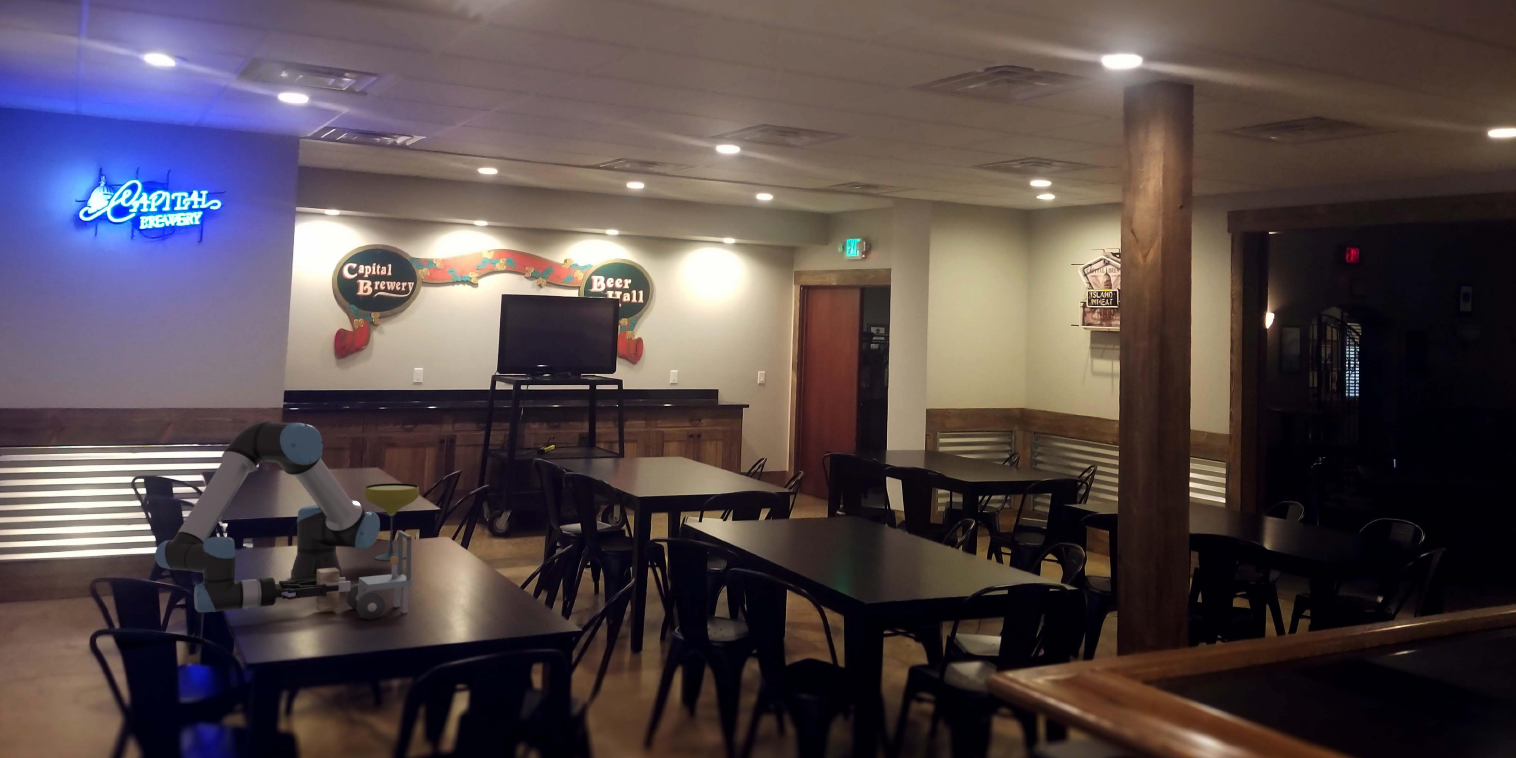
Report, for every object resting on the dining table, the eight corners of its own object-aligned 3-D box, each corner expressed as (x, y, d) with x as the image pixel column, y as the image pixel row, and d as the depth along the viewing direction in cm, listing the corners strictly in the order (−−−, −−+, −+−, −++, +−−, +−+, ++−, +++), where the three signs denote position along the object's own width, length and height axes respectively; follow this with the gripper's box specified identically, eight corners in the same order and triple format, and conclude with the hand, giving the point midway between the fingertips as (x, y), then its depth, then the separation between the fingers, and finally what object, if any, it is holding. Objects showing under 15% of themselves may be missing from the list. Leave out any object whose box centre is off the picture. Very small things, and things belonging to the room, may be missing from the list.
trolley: (358, 621, 296) (359, 542, 295) (345, 608, 309) (346, 533, 308) (414, 614, 304) (415, 537, 304) (398, 602, 317) (399, 529, 316)
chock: (320, 611, 301) (320, 572, 301) (316, 607, 305) (316, 569, 305) (339, 609, 304) (339, 570, 304) (334, 605, 308) (335, 567, 308)
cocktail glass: (397, 550, 392) (398, 481, 391) (428, 557, 382) (429, 486, 381) (352, 557, 378) (353, 486, 377) (384, 565, 367) (385, 491, 366)
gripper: (252, 599, 302) (339, 590, 315) (264, 613, 287) (355, 603, 300) (252, 572, 302) (340, 564, 315) (264, 585, 287) (355, 576, 300)
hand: (347, 583), depth 307 cm, fingers closed on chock, 5 cm apart
